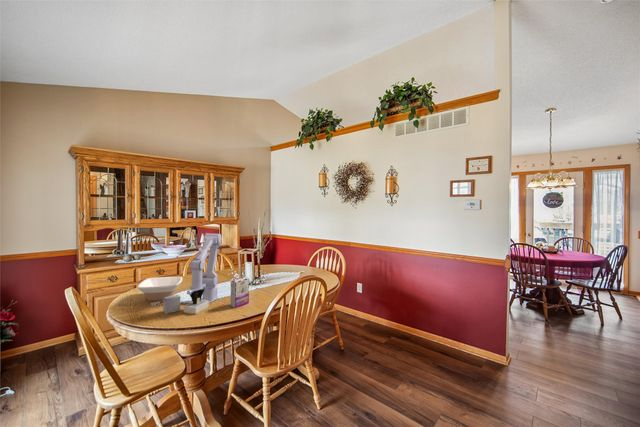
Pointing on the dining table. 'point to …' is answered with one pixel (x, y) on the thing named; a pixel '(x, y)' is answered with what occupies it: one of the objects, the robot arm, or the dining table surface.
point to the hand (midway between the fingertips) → (196, 302)
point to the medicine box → (171, 304)
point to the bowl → (159, 287)
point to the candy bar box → (239, 292)
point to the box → (196, 308)
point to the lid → (197, 303)
